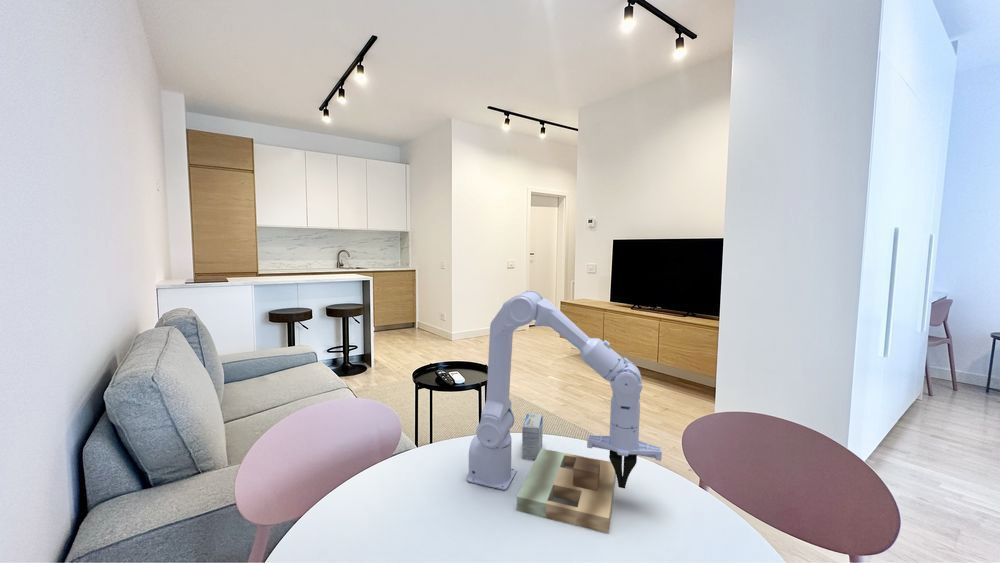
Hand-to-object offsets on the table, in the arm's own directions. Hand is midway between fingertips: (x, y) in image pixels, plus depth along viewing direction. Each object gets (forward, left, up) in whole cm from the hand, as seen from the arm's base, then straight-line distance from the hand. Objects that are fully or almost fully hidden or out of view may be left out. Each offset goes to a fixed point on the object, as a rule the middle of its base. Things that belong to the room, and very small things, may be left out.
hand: (621, 485), depth 81 cm
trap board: (-11, 0, -4) cm, 11 cm away
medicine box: (-23, +13, -4) cm, 27 cm away
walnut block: (-7, 0, -1) cm, 7 cm away
